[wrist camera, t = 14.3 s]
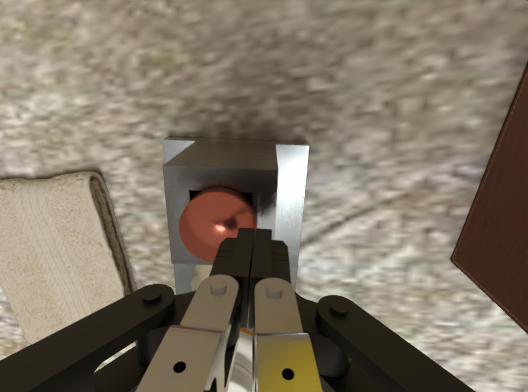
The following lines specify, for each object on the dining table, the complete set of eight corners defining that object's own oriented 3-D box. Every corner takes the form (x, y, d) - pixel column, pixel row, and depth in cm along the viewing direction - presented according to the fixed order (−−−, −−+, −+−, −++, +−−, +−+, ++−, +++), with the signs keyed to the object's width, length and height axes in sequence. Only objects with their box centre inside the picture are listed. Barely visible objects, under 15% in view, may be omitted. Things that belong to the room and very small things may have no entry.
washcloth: (48, 333, 31) (25, 358, 28) (-28, 177, 25) (-67, 189, 22) (153, 327, 30) (141, 352, 28) (104, 165, 24) (82, 176, 21)
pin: (208, 155, 21) (175, 192, 14) (261, 157, 21) (257, 196, 14) (210, 204, 23) (181, 262, 15) (260, 206, 23) (255, 265, 15)
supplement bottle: (227, 319, 27) (204, 445, 17) (194, 276, 25) (149, 390, 16) (279, 296, 26) (284, 418, 16) (248, 250, 24) (234, 356, 15)
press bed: (168, 136, 23) (114, 163, 15) (306, 142, 23) (326, 172, 15) (183, 313, 29) (150, 398, 21) (290, 318, 29) (298, 404, 21)
